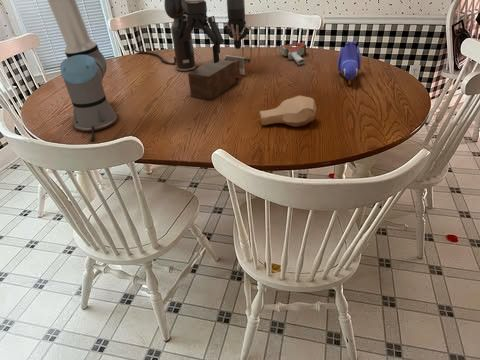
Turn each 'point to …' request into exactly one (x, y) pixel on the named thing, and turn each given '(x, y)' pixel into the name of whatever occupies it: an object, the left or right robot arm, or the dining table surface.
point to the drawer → (238, 64)
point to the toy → (349, 61)
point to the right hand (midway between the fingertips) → (238, 48)
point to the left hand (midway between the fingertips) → (202, 60)
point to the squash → (291, 112)
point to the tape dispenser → (294, 52)
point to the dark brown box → (212, 79)
